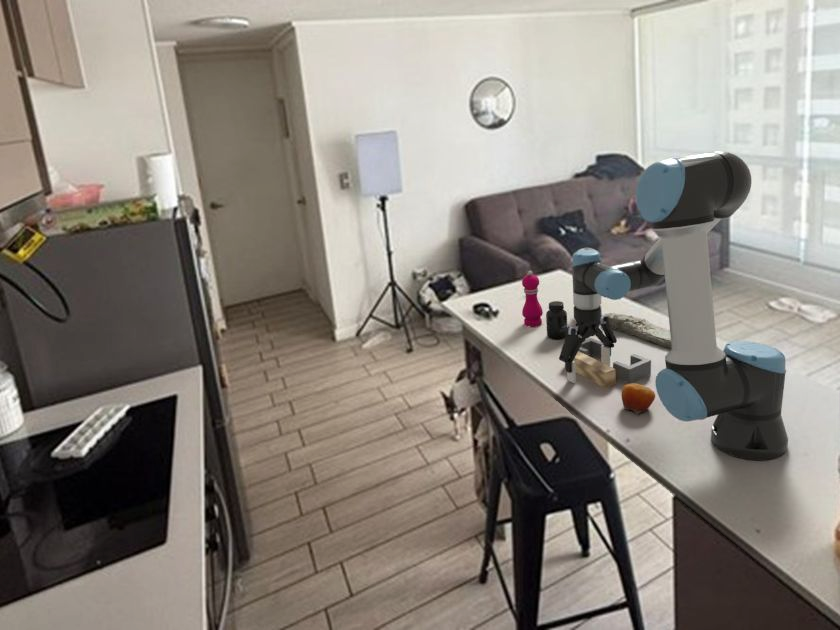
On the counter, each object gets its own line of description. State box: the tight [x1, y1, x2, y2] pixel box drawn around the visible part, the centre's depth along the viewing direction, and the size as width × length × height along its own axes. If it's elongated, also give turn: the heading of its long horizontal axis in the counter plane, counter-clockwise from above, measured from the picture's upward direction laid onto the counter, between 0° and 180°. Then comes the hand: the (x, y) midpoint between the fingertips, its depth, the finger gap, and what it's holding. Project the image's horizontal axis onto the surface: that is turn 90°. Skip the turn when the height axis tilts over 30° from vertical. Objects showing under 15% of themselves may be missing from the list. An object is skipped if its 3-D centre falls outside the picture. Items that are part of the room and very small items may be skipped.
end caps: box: [578, 337, 652, 385], centre depth 179 cm, size 23×8×4 cm, turn 29°
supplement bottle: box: [545, 300, 568, 341], centre depth 203 cm, size 7×7×12 cm
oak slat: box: [569, 351, 617, 389], centre depth 175 cm, size 18×4×5 cm, turn 24°
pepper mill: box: [521, 270, 544, 328], centre depth 215 cm, size 7×7×20 cm
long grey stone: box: [603, 312, 672, 350], centre depth 198 cm, size 35×5×10 cm
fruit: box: [621, 382, 656, 417], centre depth 154 cm, size 8×8×8 cm
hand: (589, 374), depth 176 cm, fingers open, 13 cm apart
